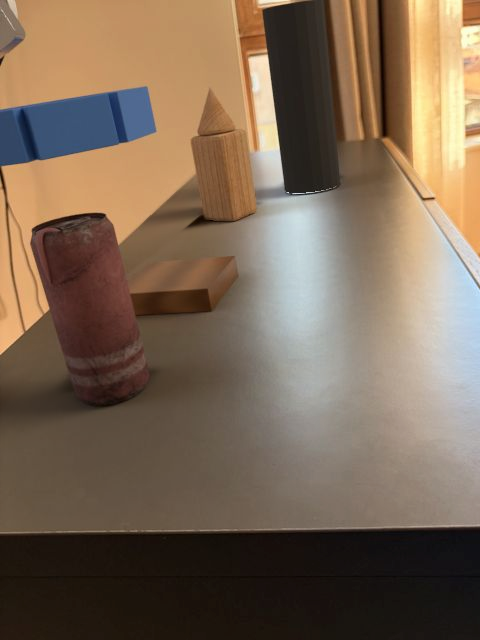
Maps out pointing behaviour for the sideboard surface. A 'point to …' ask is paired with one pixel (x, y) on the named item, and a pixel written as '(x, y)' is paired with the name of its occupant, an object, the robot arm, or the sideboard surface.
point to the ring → (74, 125)
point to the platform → (181, 285)
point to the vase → (302, 95)
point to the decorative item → (222, 165)
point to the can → (91, 307)
